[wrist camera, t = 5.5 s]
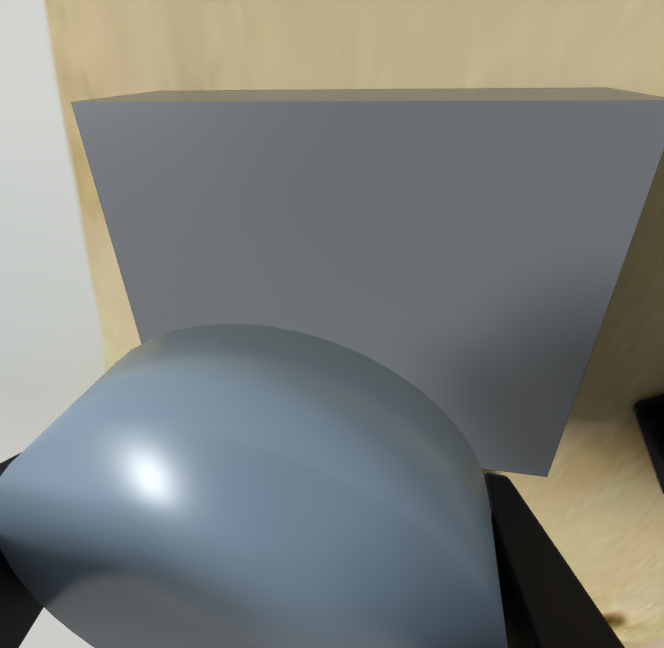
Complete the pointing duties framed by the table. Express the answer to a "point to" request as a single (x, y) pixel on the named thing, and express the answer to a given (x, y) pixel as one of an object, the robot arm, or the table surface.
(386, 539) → the disc
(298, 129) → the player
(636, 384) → the table surface
